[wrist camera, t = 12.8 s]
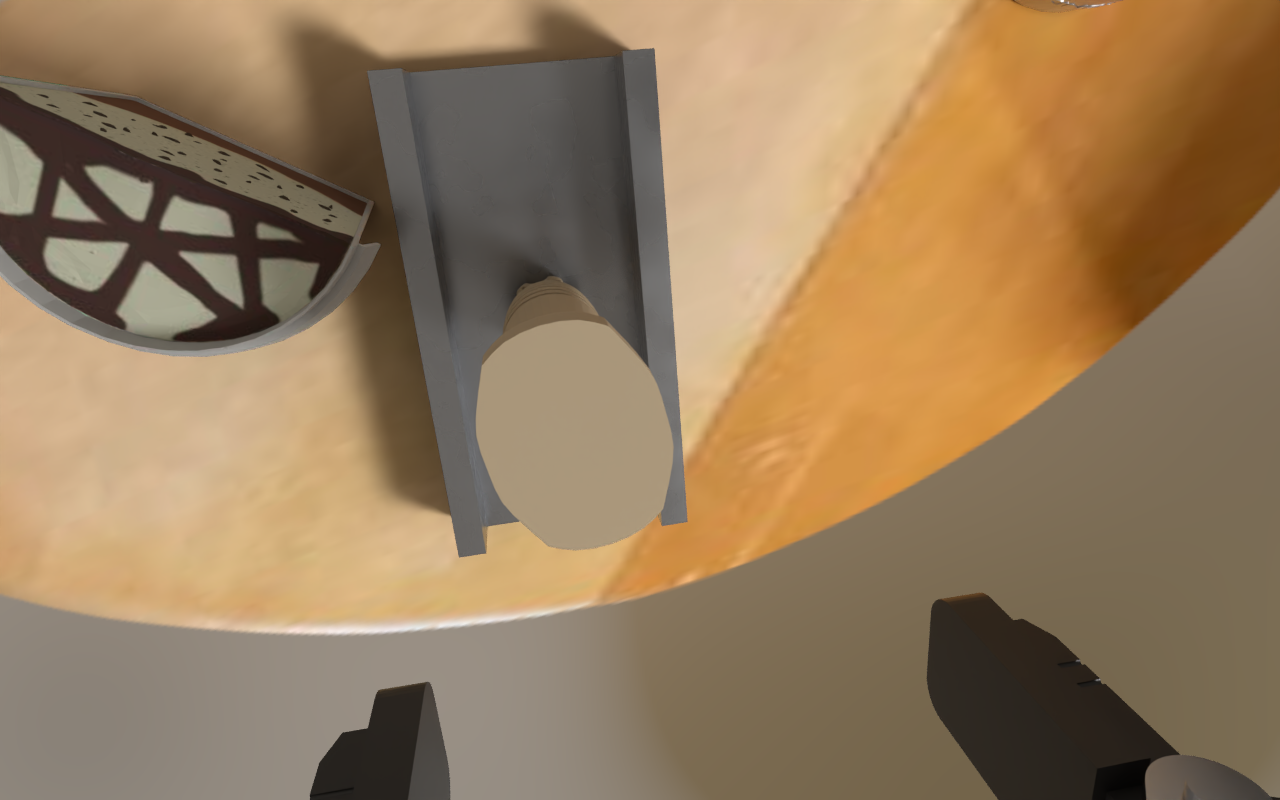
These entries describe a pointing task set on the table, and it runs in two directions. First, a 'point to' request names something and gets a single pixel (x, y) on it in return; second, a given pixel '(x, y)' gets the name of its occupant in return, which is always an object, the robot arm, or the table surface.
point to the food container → (166, 225)
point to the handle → (571, 422)
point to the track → (526, 230)
